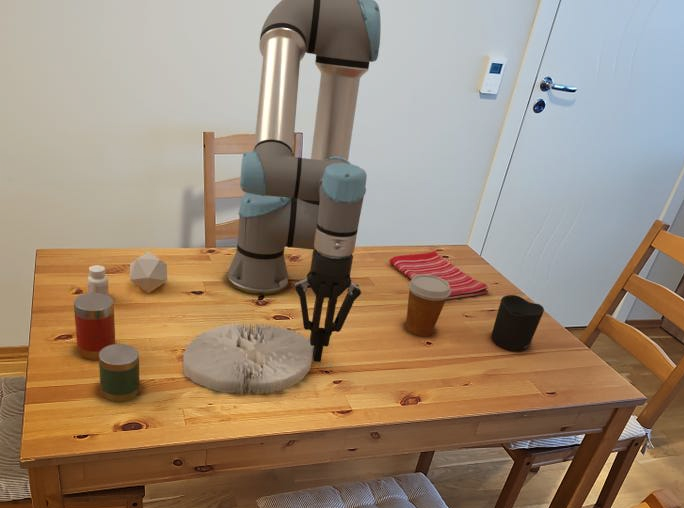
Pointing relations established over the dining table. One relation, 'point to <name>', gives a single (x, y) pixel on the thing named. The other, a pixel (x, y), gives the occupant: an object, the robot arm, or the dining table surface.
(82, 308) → the tomato tin
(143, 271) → the die
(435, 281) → the disposable coffee cup
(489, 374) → the dining table surface
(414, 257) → the dish towel
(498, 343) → the pen holder
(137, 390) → the bean tin
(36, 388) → the dining table surface
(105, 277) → the pill bottle
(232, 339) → the spiky fractal disc
